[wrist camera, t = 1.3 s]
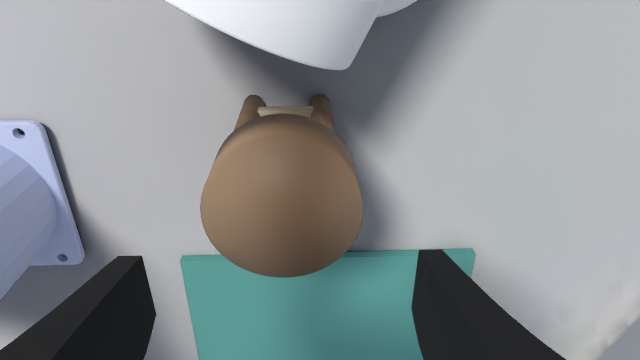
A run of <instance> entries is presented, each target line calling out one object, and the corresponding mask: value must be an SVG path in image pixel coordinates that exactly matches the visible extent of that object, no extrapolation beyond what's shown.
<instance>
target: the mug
mask: <svg viewBox="0 0 640 360" xmlns="http://www.w3.org/2000/svg"><path fill="white" fill-rule="evenodd" d="M164 1H166V2H167V3H169V4H171V5H172V6H174V7H176V8H178V9H179V10H181V11H183V12H185V13H186V14H188V15H190V16H192V17H194V18H195V19H197V20H199V21H201V22H203V23H205V24H207V25H209V26H211V27H213V28H215V29H217V30H219V31H221V32H223V33H225V34H227V35H229V36H231V37H234V38H236V39H238V40H240V41H243V42H245V43H247V44H249V45H252V46H254V47H257V48H259V49H262V50H264V51H267V52H269V53H272V54H274V55H277V56H280V57H283V58H286V59H289V60H292V61H295V62H298V63H302V64H305V65H309V66H313V67H317V68H322V69H328V70H345V69H347V68H348V67H349V66H350V65H351V63H352V62H353V60H354V58H355V56H356V54H357V52H358V51H359V49H360V47H361V45H362V43H363V41H364V39H365V37H366V35H367V34H368V32H369V30H370V28H371V26H372V24H373V22H374V20H375V18H377V17H382V16H385V15H389V14H392V13H394V12H397V11H399V10H401V9H403V8H405V7H407V6H409V5H411V4H412V3H414V2H415V1H417V0H164Z"/></svg>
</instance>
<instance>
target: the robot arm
mask: <svg viewBox="0 0 640 360" xmlns="http://www.w3.org/2000/svg"><path fill="white" fill-rule="evenodd" d="M18 128H20V129H21V130H23V131H24V133H25V135H22V134H20V133H19V132H18ZM62 254H64V255H66V256H67V257H64V256H62ZM84 257H85V252H84V249H83V246H82V243H81V240H80V237H79V234H78V230H77V227H76V224H75V221H74V218H73V215H72V212H71V209H70V205H69V202H68V199H67V196H66V193H65V190H64V187H63V183H62V180H61V177H60V174H59V171H58V168H57V165H56V162H55V158H54V155H53V152H52V149H51V146H50V143H49V140H48V136H47V133H46V130H45V128H44V127H43V126H42V125H41V124H40V123H39V122H37V121H34V120H0V300H1V299H2V298H3V296H4V295H5V294H6V293H7V292H8V290H9V289H10V288H11V287H12V286H13V285H14V283H15V282H16V281H17V280H18V279H19V277H20V276H21V275H22V274H23V273H24V272H25V270H26V269H27V268H28V267H29V266H45V265H77V264H80V263H81V262H82V261H83V259H84ZM411 309H412V314H413V320H414V325H415V330H416V334H417V339H418V344H419V347H420V350H421V353H422V356H423V359H424V360H566V359H564V358H563V357H562V356H560V355H559V354H558V353H556V352H555V351H554V350H552V349H551V348H550V347H548V346H547V345H546V344H544V343H543V342H542V341H540V340H539V339H538V338H537V337H535V336H534V335H533V334H532V333H530V332H529V331H528V330H527V329H526V328H524V327H523V326H522V325H521V324H520V323H518V322H517V321H516V320H515V319H514V318H513V317H511V316H510V315H509V314H508V313H507V312H506V311H505V310H503V309H502V308H501V307H500V306H499V305H498V304H497V303H496V302H495V301H494V300H493V299H491V298H490V297H489V296H488V295H487V294H486V293H485V292H484V291H483V290H482V289H481V288H480V287H479V286H478V285H477V284H476V283H475V282H474V281H473V280H472V279H471V278H470V277H469V276H468V275H467V274H466V273H465V272H464V271H463V270H462V269H461V268H460V267H459V266H458V265H457V264H456V263H455V262H454V261H453V260H452V259H451V258H450V257H449V256H448V255H447V254H446V253H445V252H444V251H443V250H442V249H437V250H419V253H418V261H417V268H416V276H415V283H414V291H413V298H412V306H411ZM155 317H156V312H155V308H154V303H153V299H152V295H151V291H150V287H149V283H148V279H147V275H146V271H145V266H144V262H143V258H142V256H118V257H117V258H115V259H114V260H113V261H111V262H110V263H109V264H108V265H106V266H105V267H104V268H103V269H102V270H100V271H99V272H98V273H97V274H96V275H95V276H93V277H92V278H91V279H90V280H89V281H87V282H86V283H85V284H84V285H83V286H82V287H80V288H79V289H78V290H77V291H76V292H74V293H73V294H72V295H71V296H70V297H68V298H67V299H66V300H65V301H63V302H62V303H61V304H60V305H59V306H57V307H56V308H55V309H54V310H53V311H51V312H50V313H49V314H48V315H46V316H45V317H44V318H42V319H41V320H40V321H38V322H37V323H36V324H34V325H33V326H32V327H31V328H29V329H28V330H27V331H25V332H24V333H23V334H21V335H20V336H19V337H17V338H16V339H15V340H14V341H12V342H11V343H10V344H8V345H7V346H5V347H4V348H3V349H1V350H0V360H143V359H144V356H145V354H146V351H147V347H148V344H149V340H150V337H151V333H152V329H153V325H154V321H155Z"/></svg>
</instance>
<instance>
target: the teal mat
mask: <svg viewBox="0 0 640 360" xmlns="http://www.w3.org/2000/svg"><path fill="white" fill-rule="evenodd" d="M442 250H443V251H444V252H445V253H446V254H447V255H448V256H449V257H450V258H451V259H452V260H453V261H454V262H455V263H456V264H457V265H458V266H459V267H460V268H461V269H462V270H463V271H464V272H465V273H466V274H467V275H468V276H469V277H470V278H471V273H472V268H473V263H474V259H475V253H474V251H473V249H442ZM418 253H419V250H397V251H356V252H346V253H345V254H344V255H343V256H342V257H340V258H339V259H338V260H337V261H335V262H334V263H333V264H331V265H329V266H327V267H326V268H324V269H322V270H319V271H317V272H314V273H311V274H308V275H304V276H298V277H289V278H276V277H268V276H263V275H258V274H255V273H252V272H249V271H247V270H244V269H242V268H240V267H238V266H237V265H235V264H233V263H232V262H230V261H229V260H228V259H226V258H225V257H224V256H223V255H192V256H182V258H181V261H180V263H181V268H182V273H183V279H184V284H185V289H186V294H187V299H188V305H189V310H190V315H191V320H192V325H193V331H194V336H195V341H196V346H197V351H198V357H199V360H424V359H423V356H422V353H421V350H420V347H419V344H418V339H417V334H416V330H415V325H414V320H413V314H412V309H411V306H412V298H413V291H414V283H415V276H416V268H417V261H418Z"/></svg>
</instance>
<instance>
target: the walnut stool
mask: <svg viewBox="0 0 640 360" xmlns="http://www.w3.org/2000/svg"><path fill="white" fill-rule="evenodd" d="M200 211H201V219H202V224H203V227H204V229H205V232H206V234H207V236H208V238H209V240H210V241H211V243H212V244H213V245H214V247H215V248H216V249H217V250H218V251H219V252H220V253H221V254H222V255H223V256H224V257H225V258H226V259H228V260H229V261H230V262H232V263H233V264H235V265H237V266H238V267H240V268H242V269H244V270H247V271H249V272H252V273H255V274H258V275H263V276H268V277H276V278H289V277H298V276H304V275H308V274H311V273H314V272H317V271H319V270H322V269H324V268H326V267H327V266H329V265H331V264H333V263H334V262H335V261H337V260H338V259H339V258H340V257H342V256H343V255H344V254H345V253H346V252H347V251H348V249H349V248H350V247H351V246H352V244H353V243H354V241H355V239H356V238H357V235H358V233H359V231H360V228H361V224H362V220H363V201H362V195H361V191H360V187H359V183H358V179H357V175H356V170H355V166H354V162H353V159H352V156H351V154H350V152H349V150H348V148H347V147H346V145H345V144H344V142H343V141H342V140H341V139H340V137H339V136H338V135H337V134H336V133H335V131H334V125H333V120H332V114H331V109H330V103H329V100H328V98H327V97H326V96H325V95H322V94H318V95H315V96H313V97H312V99H311V100H310V106H281V107H264V102H263V100H262V99H261V98H260V97H259V96H256V95H250V96H248V97H247V98H246V99H245V101H244V104H243V107H242V110H241V112H240V115H239V118H238V121H237V123H236V126H235V129H234V132H232V133H231V134H230V135H229V136H228V138H227V139H226V140H225V141H224V143H223V144H222V146H221V148H220V149H219V151H218V154H217V156H216V159H215V161H214V164H213V166H212V169H211V171H210V174H209V176H208V179H207V181H206V184H205V186H204V189H203V192H202V196H201V204H200Z"/></svg>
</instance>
